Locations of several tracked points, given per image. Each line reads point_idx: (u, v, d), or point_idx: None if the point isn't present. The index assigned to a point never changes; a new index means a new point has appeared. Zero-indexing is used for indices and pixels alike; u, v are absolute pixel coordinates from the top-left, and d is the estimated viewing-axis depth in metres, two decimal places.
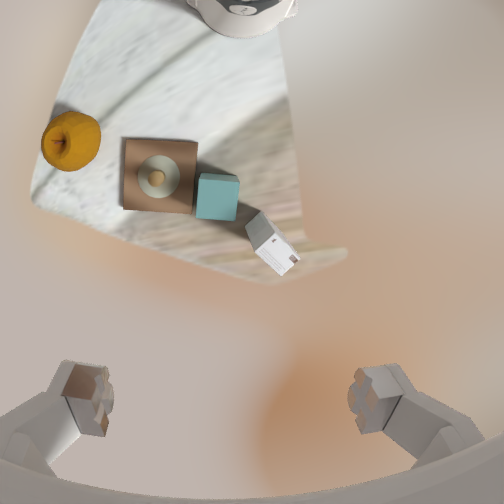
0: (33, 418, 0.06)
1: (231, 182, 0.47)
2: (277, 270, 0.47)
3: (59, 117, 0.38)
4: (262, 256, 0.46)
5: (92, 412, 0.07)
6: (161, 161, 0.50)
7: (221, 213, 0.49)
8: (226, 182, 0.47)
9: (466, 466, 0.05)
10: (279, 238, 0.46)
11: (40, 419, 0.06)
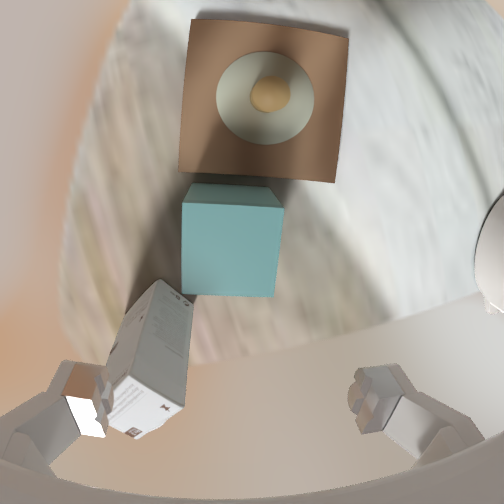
0: (33, 418, 0.06)
1: (273, 280, 0.21)
2: None
3: None
4: (122, 389, 0.17)
5: (92, 412, 0.07)
6: (300, 106, 0.22)
7: (197, 263, 0.20)
8: (273, 270, 0.21)
9: (466, 466, 0.05)
10: (171, 414, 0.18)
11: (40, 419, 0.06)
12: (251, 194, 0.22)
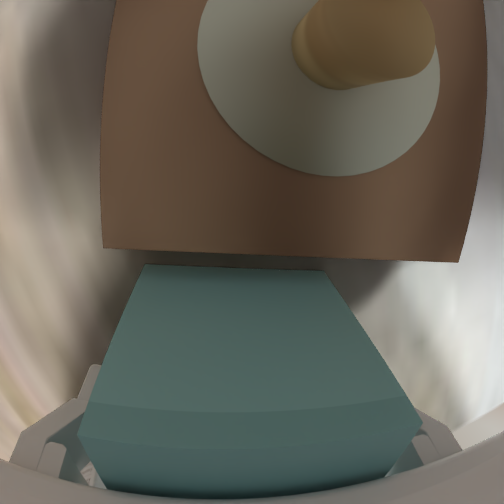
0: (66, 426, 0.06)
1: None
2: None
3: None
4: None
5: None
6: (413, 84, 0.08)
7: None
8: None
9: (466, 466, 0.05)
10: None
11: (73, 427, 0.06)
12: (300, 327, 0.08)
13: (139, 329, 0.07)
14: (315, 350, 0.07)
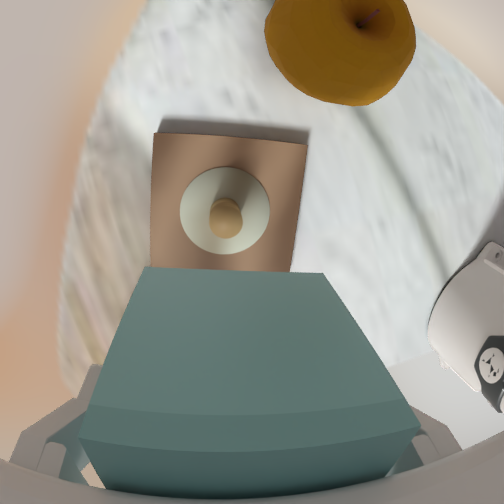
0: (66, 427, 0.06)
1: None
2: None
3: None
4: None
5: None
6: (256, 219, 0.26)
7: None
8: None
9: (466, 466, 0.05)
10: None
11: (73, 427, 0.06)
12: (299, 329, 0.08)
13: (139, 332, 0.07)
14: (314, 353, 0.07)
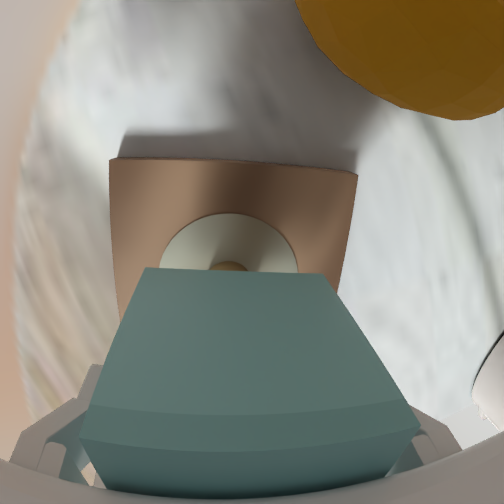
0: (67, 427, 0.06)
1: None
2: None
3: None
4: None
5: None
6: None
7: None
8: None
9: (466, 466, 0.05)
10: None
11: (73, 427, 0.06)
12: (299, 330, 0.08)
13: (139, 332, 0.07)
14: (314, 353, 0.07)
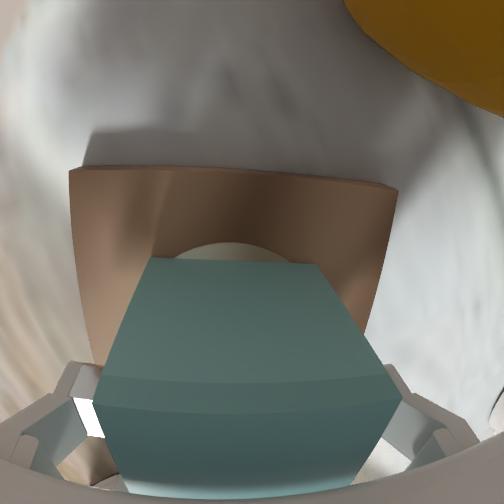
0: (41, 420, 0.06)
1: None
2: None
3: None
4: None
5: None
6: None
7: (166, 495, 0.06)
8: None
9: (466, 466, 0.05)
10: None
11: (47, 421, 0.06)
12: (292, 312, 0.09)
13: (146, 313, 0.08)
14: (305, 332, 0.08)
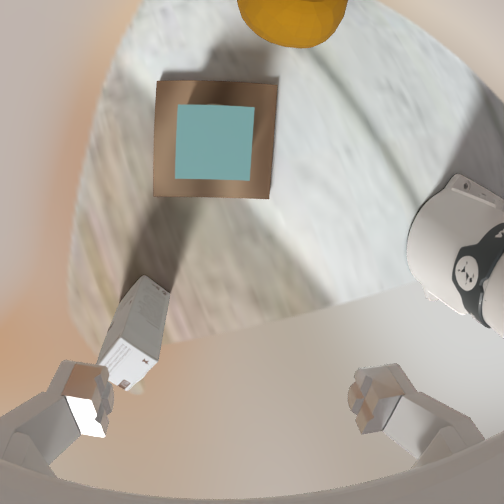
0: (33, 418, 0.06)
1: (248, 165, 0.25)
2: None
3: None
4: (116, 348, 0.26)
5: (92, 412, 0.07)
6: None
7: (188, 151, 0.24)
8: (248, 156, 0.25)
9: (466, 466, 0.05)
10: (150, 367, 0.27)
11: (40, 419, 0.06)
12: None
13: None
14: None
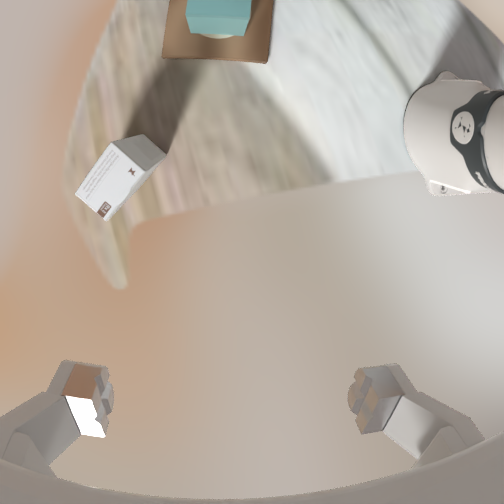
0: (33, 418, 0.06)
1: (249, 7, 0.24)
2: (83, 186, 0.25)
3: None
4: (104, 156, 0.24)
5: (92, 412, 0.07)
6: None
7: None
8: (249, 1, 0.23)
9: (466, 466, 0.05)
10: (135, 180, 0.25)
11: (40, 419, 0.06)
12: None
13: None
14: None
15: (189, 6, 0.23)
